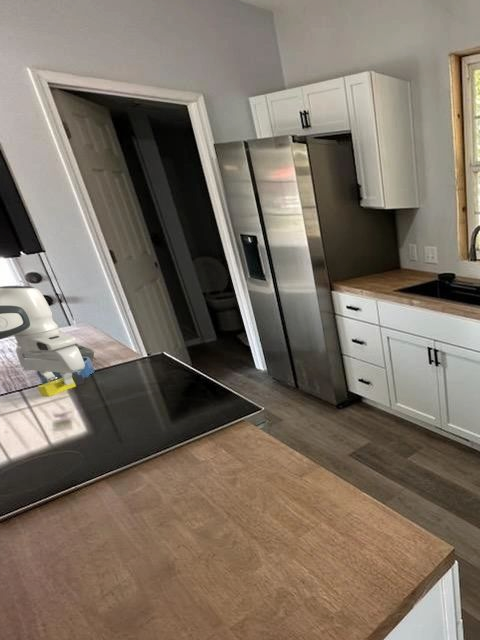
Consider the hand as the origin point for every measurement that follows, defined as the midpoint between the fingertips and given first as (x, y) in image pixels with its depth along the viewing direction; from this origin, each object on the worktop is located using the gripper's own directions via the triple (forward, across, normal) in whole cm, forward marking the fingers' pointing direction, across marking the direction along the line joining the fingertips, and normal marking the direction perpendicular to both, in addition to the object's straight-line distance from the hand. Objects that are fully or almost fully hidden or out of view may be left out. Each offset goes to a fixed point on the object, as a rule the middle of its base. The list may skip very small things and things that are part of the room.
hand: (61, 383), depth 124 cm
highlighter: (+2, 0, 0) cm, 2 cm away
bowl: (+2, -9, +7) cm, 12 cm away
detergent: (+2, -26, +18) cm, 31 cm away
